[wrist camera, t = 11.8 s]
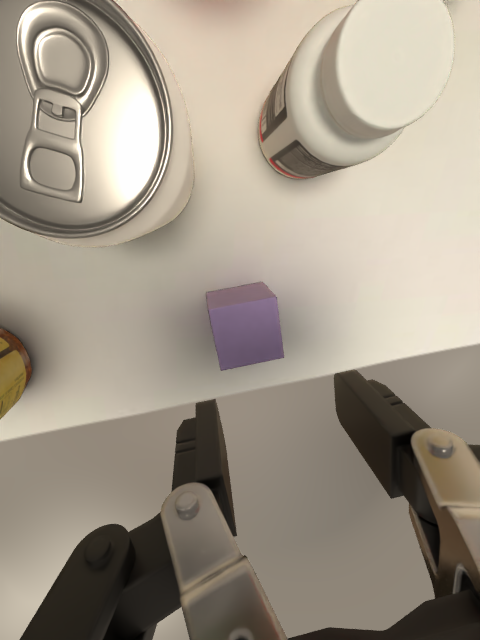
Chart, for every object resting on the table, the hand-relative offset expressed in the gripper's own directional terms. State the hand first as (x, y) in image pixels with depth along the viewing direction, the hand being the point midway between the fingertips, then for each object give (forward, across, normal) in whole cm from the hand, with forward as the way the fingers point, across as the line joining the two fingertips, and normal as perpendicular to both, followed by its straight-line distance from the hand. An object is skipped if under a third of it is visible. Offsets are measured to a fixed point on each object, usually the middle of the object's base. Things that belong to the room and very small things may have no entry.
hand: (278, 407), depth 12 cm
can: (+12, +4, -10) cm, 16 cm away
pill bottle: (+12, -6, -11) cm, 17 cm away
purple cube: (+11, 0, 0) cm, 11 cm away
